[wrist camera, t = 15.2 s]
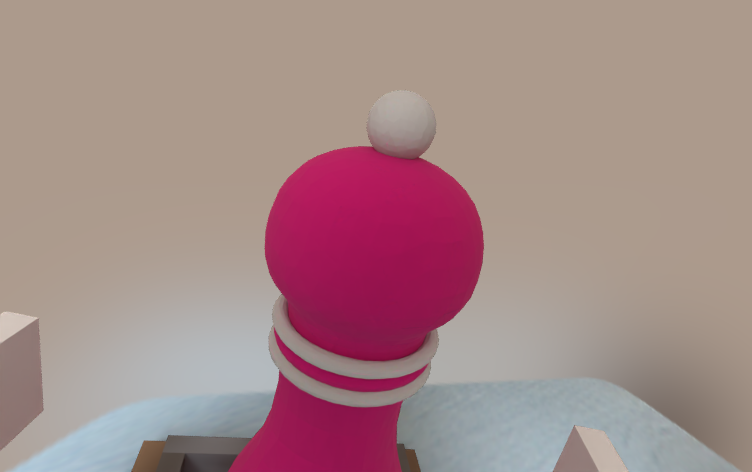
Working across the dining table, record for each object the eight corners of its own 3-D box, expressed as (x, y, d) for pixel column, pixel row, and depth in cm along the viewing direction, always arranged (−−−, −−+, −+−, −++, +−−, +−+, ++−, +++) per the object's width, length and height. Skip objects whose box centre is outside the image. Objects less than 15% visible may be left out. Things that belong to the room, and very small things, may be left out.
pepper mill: (326, 781, 13) (553, 131, 7) (152, 640, 16) (186, 42, 9) (404, 566, 20) (560, 123, 13) (273, 487, 22) (346, 73, 15)
